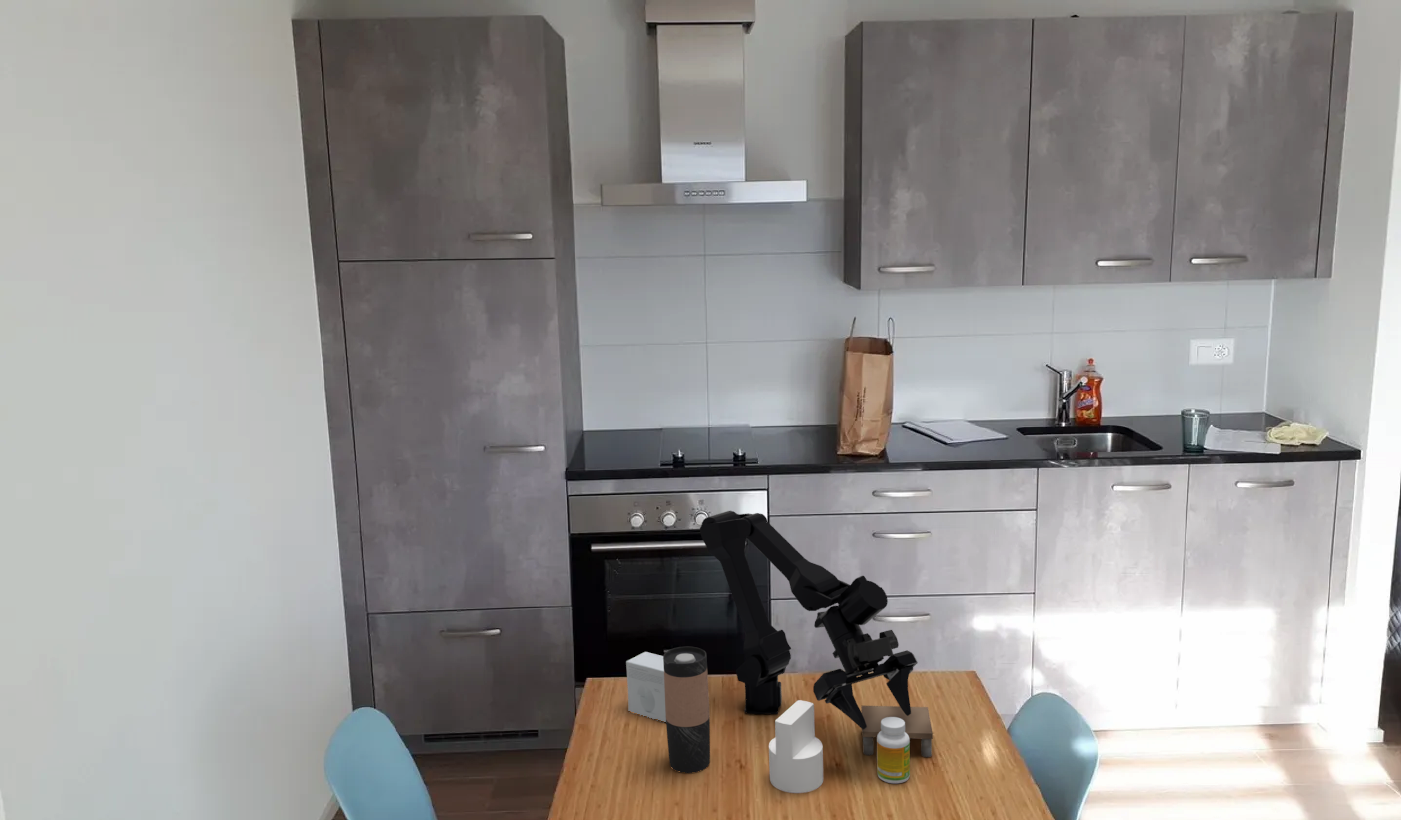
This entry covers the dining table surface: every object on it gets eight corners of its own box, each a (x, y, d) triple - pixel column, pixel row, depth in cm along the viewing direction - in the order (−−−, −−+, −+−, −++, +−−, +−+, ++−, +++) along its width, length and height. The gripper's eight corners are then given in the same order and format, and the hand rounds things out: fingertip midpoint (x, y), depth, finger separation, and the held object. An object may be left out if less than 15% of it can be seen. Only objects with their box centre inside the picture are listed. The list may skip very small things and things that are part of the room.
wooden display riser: (862, 755, 177) (862, 731, 176) (861, 728, 186) (861, 705, 186) (932, 757, 175) (932, 733, 174) (928, 730, 185) (928, 707, 184)
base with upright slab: (809, 798, 164) (807, 729, 162) (760, 784, 169) (758, 717, 167) (832, 772, 171) (830, 706, 169) (784, 760, 176) (783, 695, 174)
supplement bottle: (909, 785, 166) (909, 730, 165) (876, 783, 168) (876, 728, 166) (909, 768, 172) (909, 715, 170) (877, 766, 173) (877, 713, 171)
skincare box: (690, 711, 196) (687, 660, 194) (670, 725, 191) (667, 672, 189) (647, 699, 202) (645, 649, 200) (627, 712, 197) (624, 661, 195)
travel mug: (717, 754, 179) (712, 648, 176) (703, 776, 172) (698, 666, 168) (676, 749, 181) (671, 644, 178) (661, 770, 174) (656, 661, 171)
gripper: (820, 628, 167) (861, 716, 160) (910, 606, 176) (953, 688, 168) (796, 657, 176) (834, 742, 168) (883, 634, 184) (923, 714, 176)
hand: (887, 721), depth 170 cm, fingers open, 9 cm apart
